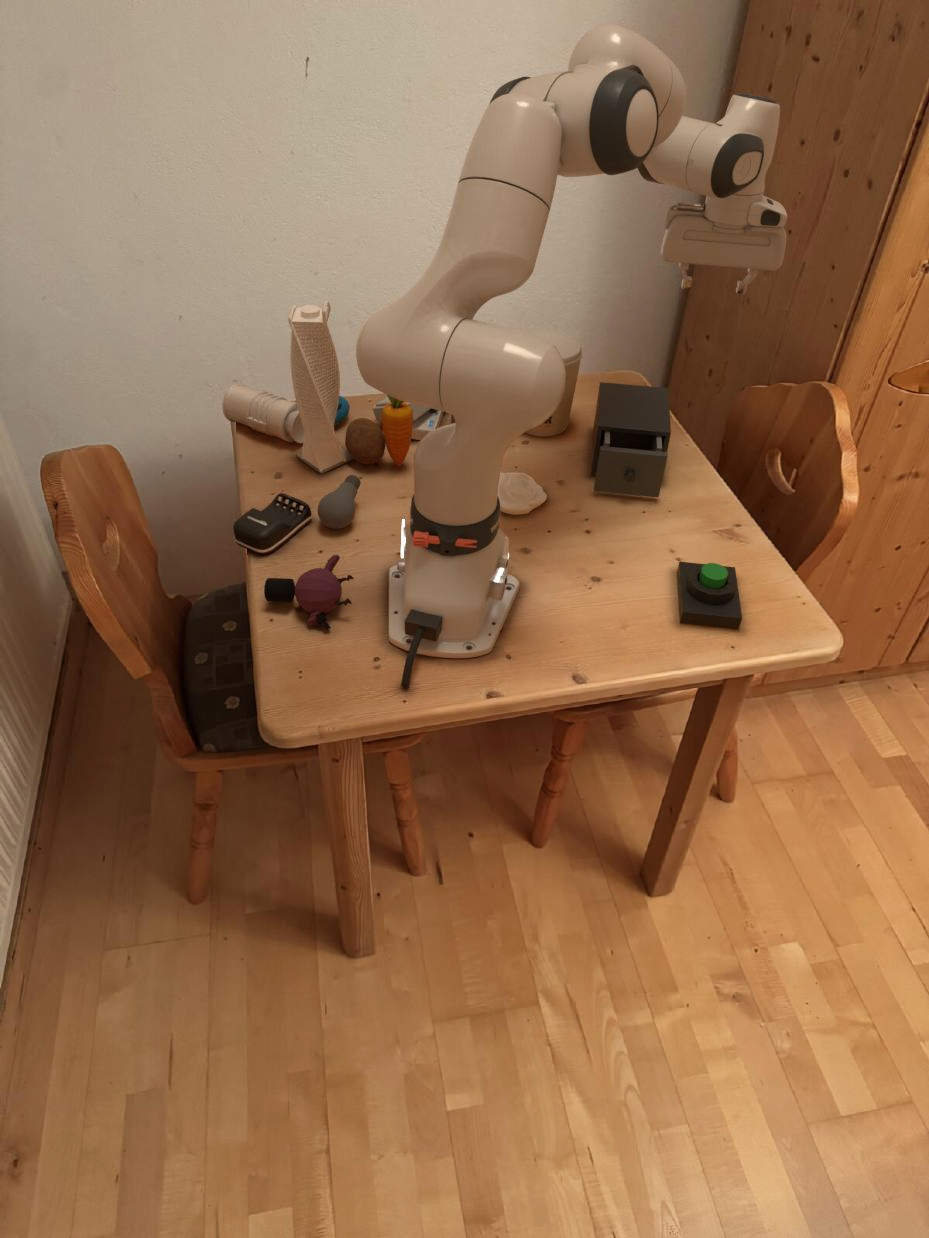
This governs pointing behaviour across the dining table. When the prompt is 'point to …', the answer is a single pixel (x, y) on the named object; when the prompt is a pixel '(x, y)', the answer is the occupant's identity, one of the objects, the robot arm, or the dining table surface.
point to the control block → (707, 599)
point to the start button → (713, 576)
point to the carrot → (397, 429)
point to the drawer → (630, 464)
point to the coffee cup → (571, 359)
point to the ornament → (342, 410)
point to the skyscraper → (316, 386)
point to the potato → (365, 441)
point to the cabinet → (630, 414)
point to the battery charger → (271, 524)
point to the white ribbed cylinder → (263, 413)
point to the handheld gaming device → (416, 409)
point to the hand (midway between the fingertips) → (712, 290)
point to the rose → (519, 493)
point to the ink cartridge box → (426, 423)
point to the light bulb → (339, 504)
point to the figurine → (310, 591)
